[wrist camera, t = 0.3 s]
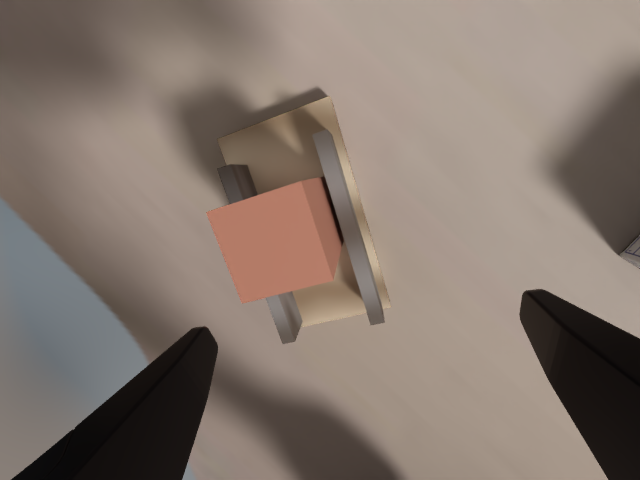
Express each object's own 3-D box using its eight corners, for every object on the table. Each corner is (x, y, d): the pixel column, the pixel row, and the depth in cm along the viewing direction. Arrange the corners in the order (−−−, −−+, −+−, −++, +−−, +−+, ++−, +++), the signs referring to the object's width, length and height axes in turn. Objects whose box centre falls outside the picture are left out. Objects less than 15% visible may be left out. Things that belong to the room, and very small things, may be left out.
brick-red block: (343, 240, 22) (333, 280, 14) (283, 256, 23) (242, 303, 15) (324, 176, 22) (301, 180, 13) (262, 196, 23) (205, 212, 14)
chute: (389, 300, 25) (395, 326, 21) (290, 323, 26) (277, 351, 22) (331, 99, 22) (324, 83, 17) (224, 140, 23) (195, 134, 19)
